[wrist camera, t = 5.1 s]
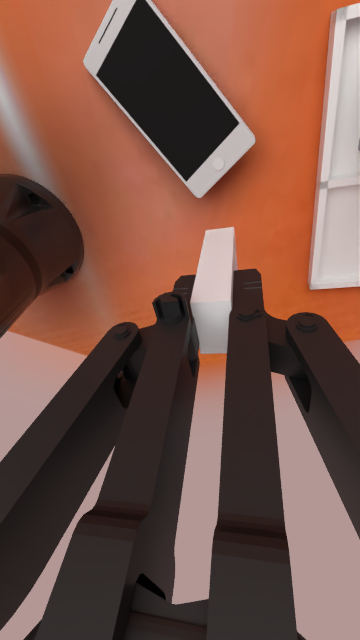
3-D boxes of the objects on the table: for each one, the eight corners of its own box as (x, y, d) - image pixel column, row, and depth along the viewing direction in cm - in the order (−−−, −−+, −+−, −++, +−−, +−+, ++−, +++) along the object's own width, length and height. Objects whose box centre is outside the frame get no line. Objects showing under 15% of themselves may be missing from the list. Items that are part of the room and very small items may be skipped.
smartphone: (200, 198, 30) (198, 200, 29) (86, 64, 27) (80, 62, 26) (258, 140, 26) (257, 140, 25) (132, -26, 23) (127, -31, 22)
